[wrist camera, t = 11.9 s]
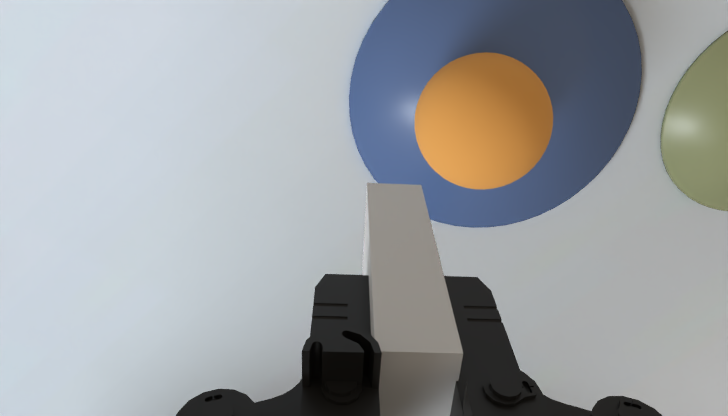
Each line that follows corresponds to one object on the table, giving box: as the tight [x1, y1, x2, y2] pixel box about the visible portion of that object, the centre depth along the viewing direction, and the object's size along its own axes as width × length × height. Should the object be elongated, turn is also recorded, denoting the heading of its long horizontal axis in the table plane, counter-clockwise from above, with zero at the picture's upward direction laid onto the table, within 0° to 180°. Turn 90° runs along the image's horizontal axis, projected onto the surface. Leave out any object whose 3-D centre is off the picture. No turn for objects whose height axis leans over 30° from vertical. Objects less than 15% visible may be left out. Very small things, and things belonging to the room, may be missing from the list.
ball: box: [415, 52, 553, 190], centre depth 22 cm, size 6×6×6 cm
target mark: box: [349, 0, 642, 227], centre depth 25 cm, size 13×13×1 cm
